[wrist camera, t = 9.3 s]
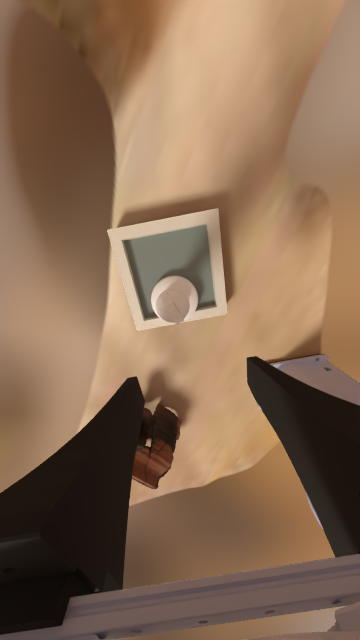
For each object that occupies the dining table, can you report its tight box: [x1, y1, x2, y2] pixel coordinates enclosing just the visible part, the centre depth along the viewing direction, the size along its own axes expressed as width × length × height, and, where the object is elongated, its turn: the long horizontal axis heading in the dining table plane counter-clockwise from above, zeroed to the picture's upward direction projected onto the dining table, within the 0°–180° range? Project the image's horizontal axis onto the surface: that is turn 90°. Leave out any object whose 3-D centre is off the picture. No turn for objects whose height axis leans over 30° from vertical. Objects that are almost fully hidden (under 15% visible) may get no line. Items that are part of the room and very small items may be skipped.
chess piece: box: [151, 276, 198, 324], centre depth 13 cm, size 5×5×10 cm
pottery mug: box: [132, 405, 180, 489], centre depth 24 cm, size 12×10×8 cm
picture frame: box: [107, 208, 227, 331], centre depth 18 cm, size 10×10×2 cm
